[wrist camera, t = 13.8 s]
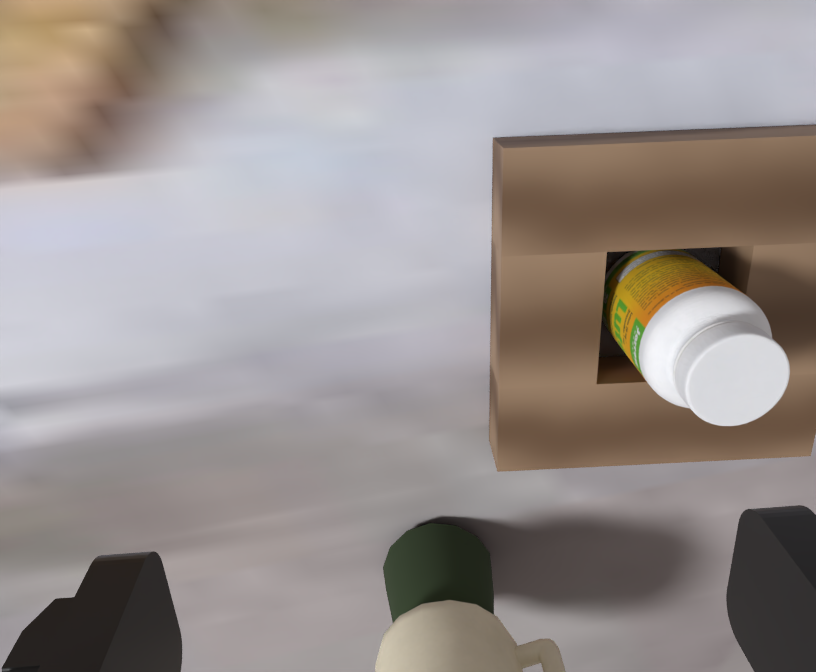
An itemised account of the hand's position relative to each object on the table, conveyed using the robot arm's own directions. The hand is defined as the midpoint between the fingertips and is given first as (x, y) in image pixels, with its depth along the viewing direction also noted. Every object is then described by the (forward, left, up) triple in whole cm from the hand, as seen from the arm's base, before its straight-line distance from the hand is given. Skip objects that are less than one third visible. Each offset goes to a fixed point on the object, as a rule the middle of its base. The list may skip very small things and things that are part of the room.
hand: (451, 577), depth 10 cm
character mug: (+22, +1, -26) cm, 34 cm away
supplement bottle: (+6, +12, -26) cm, 29 cm away
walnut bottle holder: (+6, +12, -26) cm, 29 cm away
